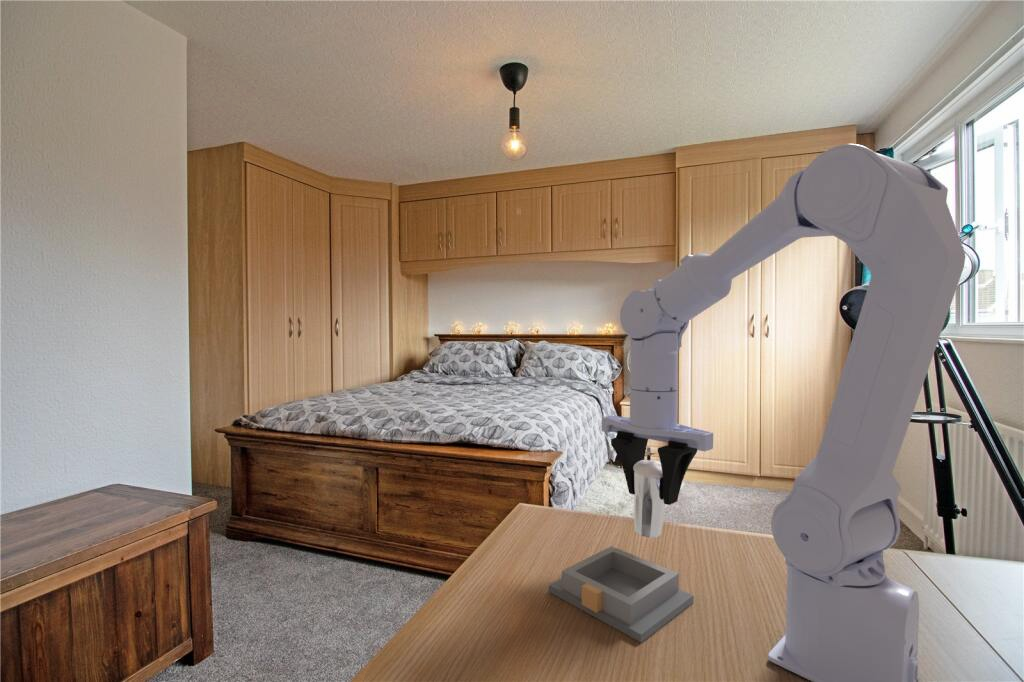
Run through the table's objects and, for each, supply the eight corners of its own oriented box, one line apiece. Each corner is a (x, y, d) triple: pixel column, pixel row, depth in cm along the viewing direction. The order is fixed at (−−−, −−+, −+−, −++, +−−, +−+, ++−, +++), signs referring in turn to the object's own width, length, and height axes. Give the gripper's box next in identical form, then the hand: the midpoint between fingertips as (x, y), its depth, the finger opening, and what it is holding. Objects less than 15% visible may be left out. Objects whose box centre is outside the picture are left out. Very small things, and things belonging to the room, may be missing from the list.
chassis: (693, 602, 54) (693, 577, 54) (639, 644, 47) (639, 615, 47) (603, 562, 63) (603, 540, 63) (547, 592, 56) (547, 568, 56)
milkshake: (661, 522, 66) (666, 448, 65) (670, 542, 60) (675, 461, 59) (626, 519, 66) (630, 445, 65) (631, 538, 61) (637, 458, 60)
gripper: (725, 391, 59) (724, 504, 60) (623, 381, 70) (623, 477, 70) (696, 397, 55) (695, 520, 55) (591, 385, 65) (591, 488, 66)
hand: (652, 497), depth 62 cm, fingers closed on milkshake, 4 cm apart
